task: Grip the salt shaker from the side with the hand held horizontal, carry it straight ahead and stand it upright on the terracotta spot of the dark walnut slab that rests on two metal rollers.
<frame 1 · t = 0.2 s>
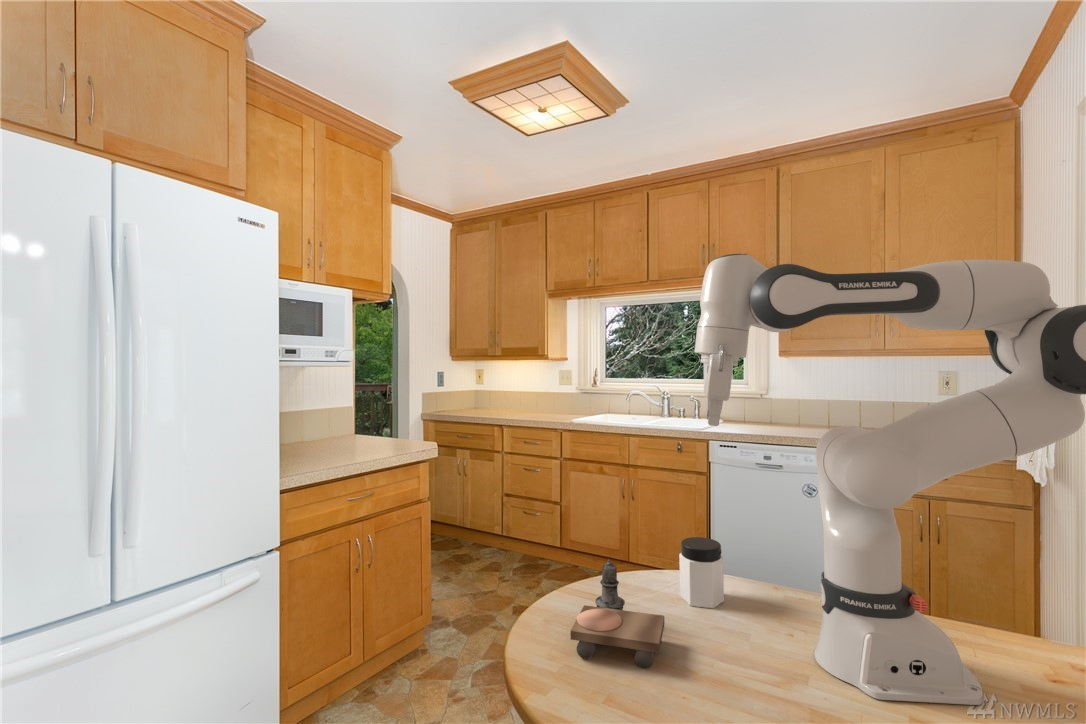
hand: (712, 422, 95), 40 cm above the table, tool pointing down, fingers open, 8 cm apart
jar: (701, 600, 113), on the table
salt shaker: (610, 620, 105), on the table
roller slab: (619, 648, 95), on the table
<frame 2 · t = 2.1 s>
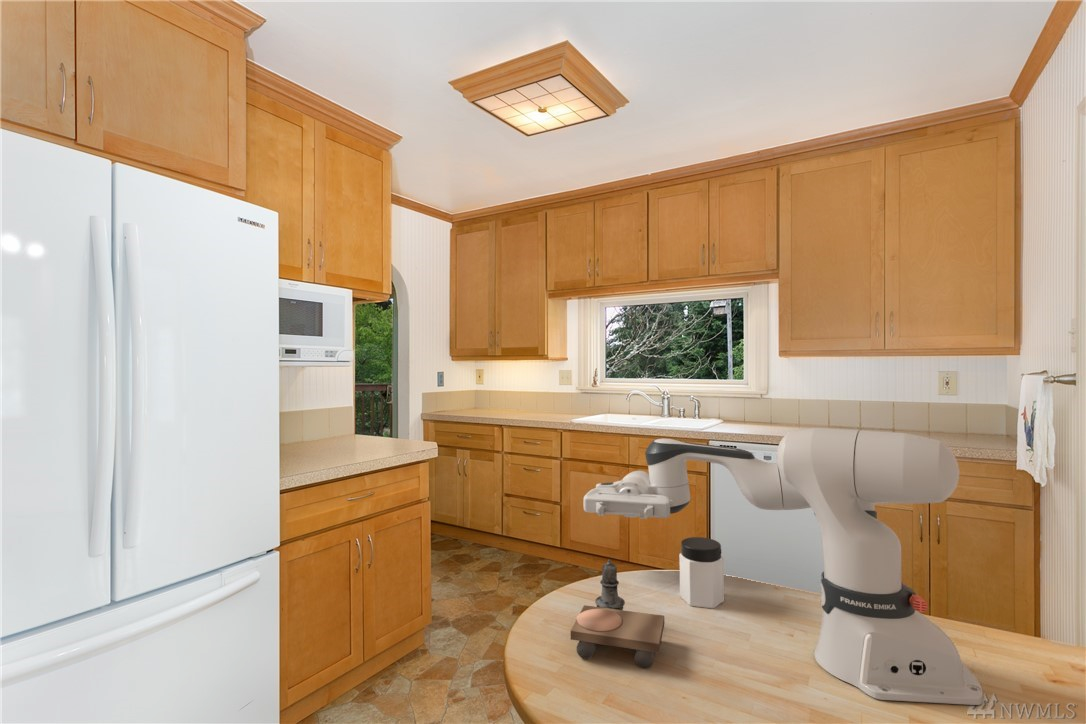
hand: (621, 513, 119), 17 cm above the table, tool horizontal, fingers open, 8 cm apart
nothing on the table moved.
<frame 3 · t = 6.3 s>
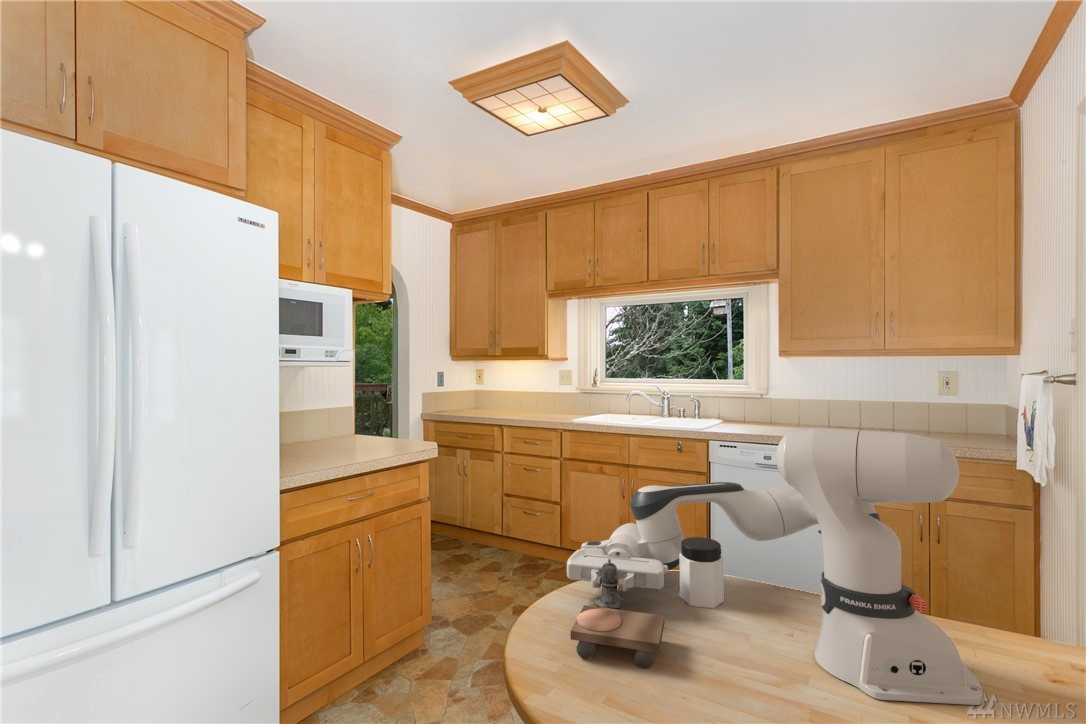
hand: (608, 585, 104), 7 cm above the table, tool horizontal, fingers closed on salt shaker, 4 cm apart
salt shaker: (610, 620, 105), on the table, touching gripper
everything else where it was.
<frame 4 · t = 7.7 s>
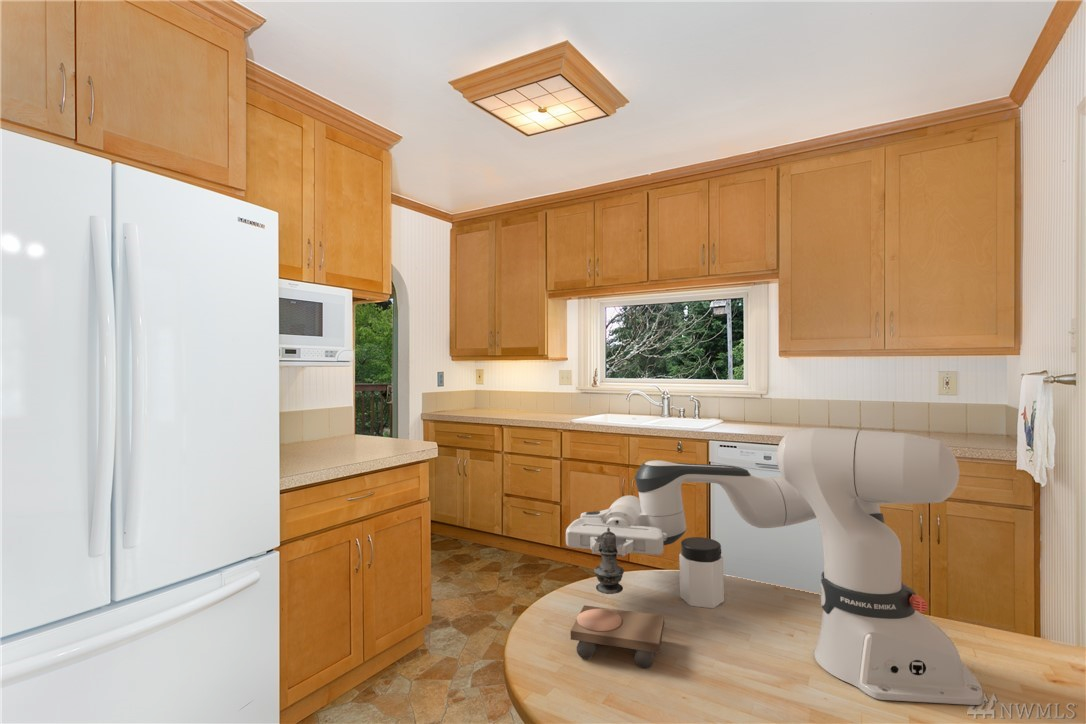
hand: (607, 551, 104), 14 cm above the table, tool horizontal, fingers closed on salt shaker, 4 cm apart
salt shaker: (609, 589, 105), point 6 cm above the table, touching gripper
everything else where it was.
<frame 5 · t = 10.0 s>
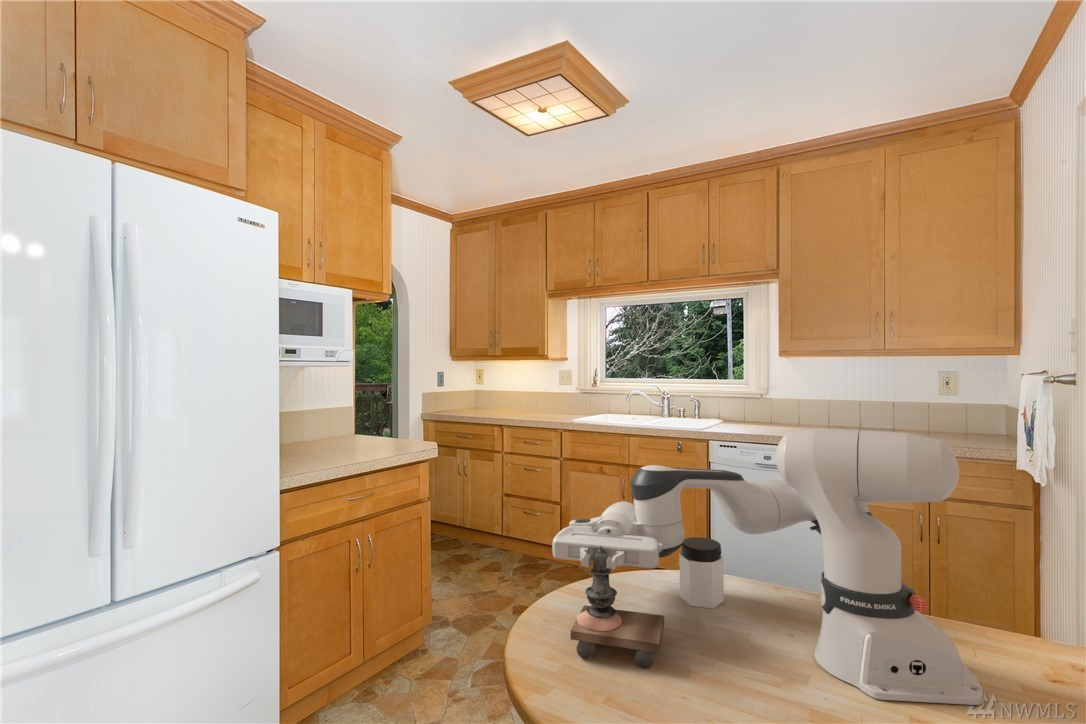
hand: (597, 563, 95), 15 cm above the table, tool horizontal, fingers open, 3 cm apart
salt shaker: (601, 612, 99), point 5 cm above the table, touching roller slab
everything else where it was.
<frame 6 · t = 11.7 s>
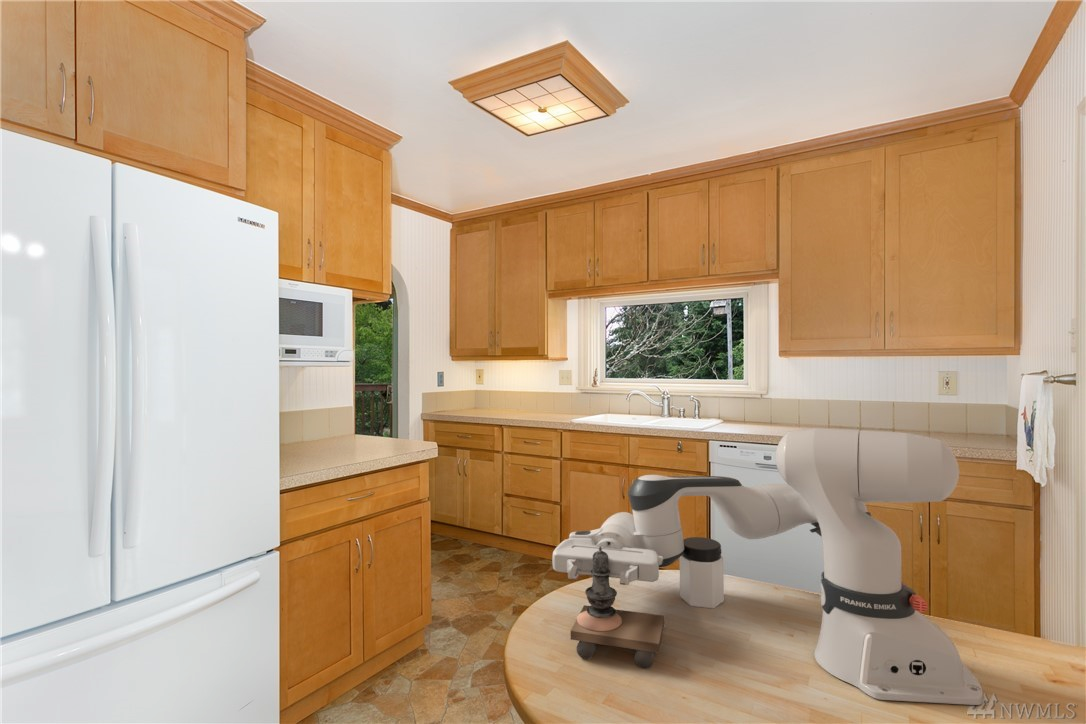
hand: (597, 577, 95), 13 cm above the table, tool horizontal, fingers open, 8 cm apart
jar: (701, 600, 113), on the table, touching arm
everything else where it was.
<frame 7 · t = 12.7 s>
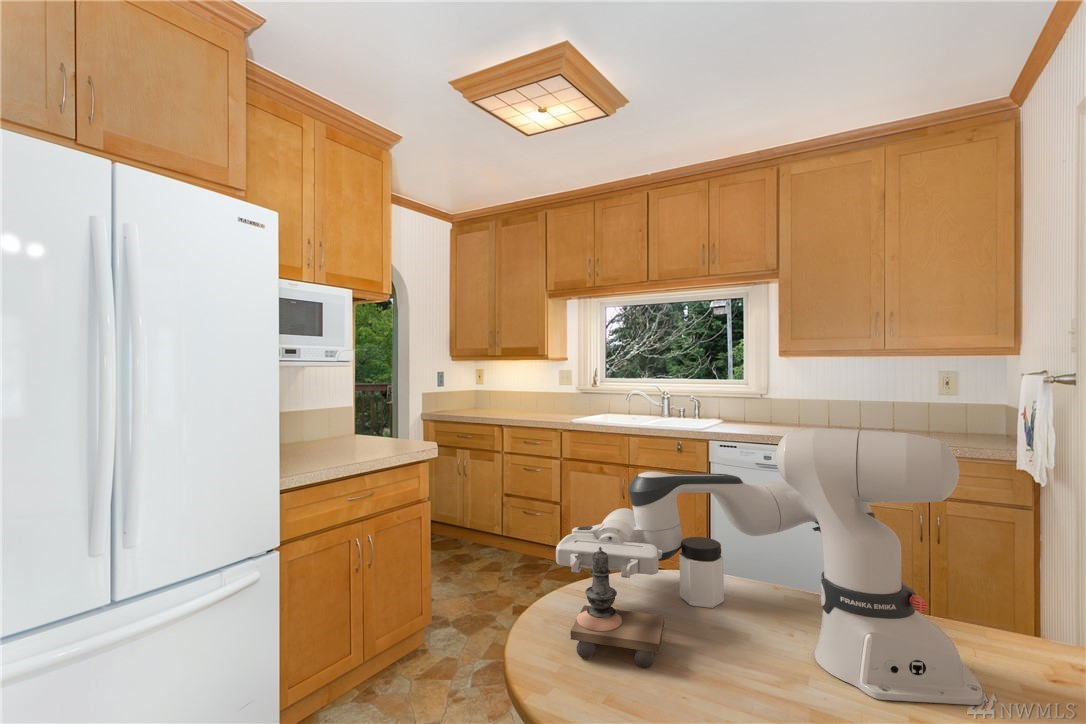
hand: (599, 570, 99), 12 cm above the table, tool horizontal, fingers open, 8 cm apart
jar: (701, 600, 113), on the table
everything else where it was.
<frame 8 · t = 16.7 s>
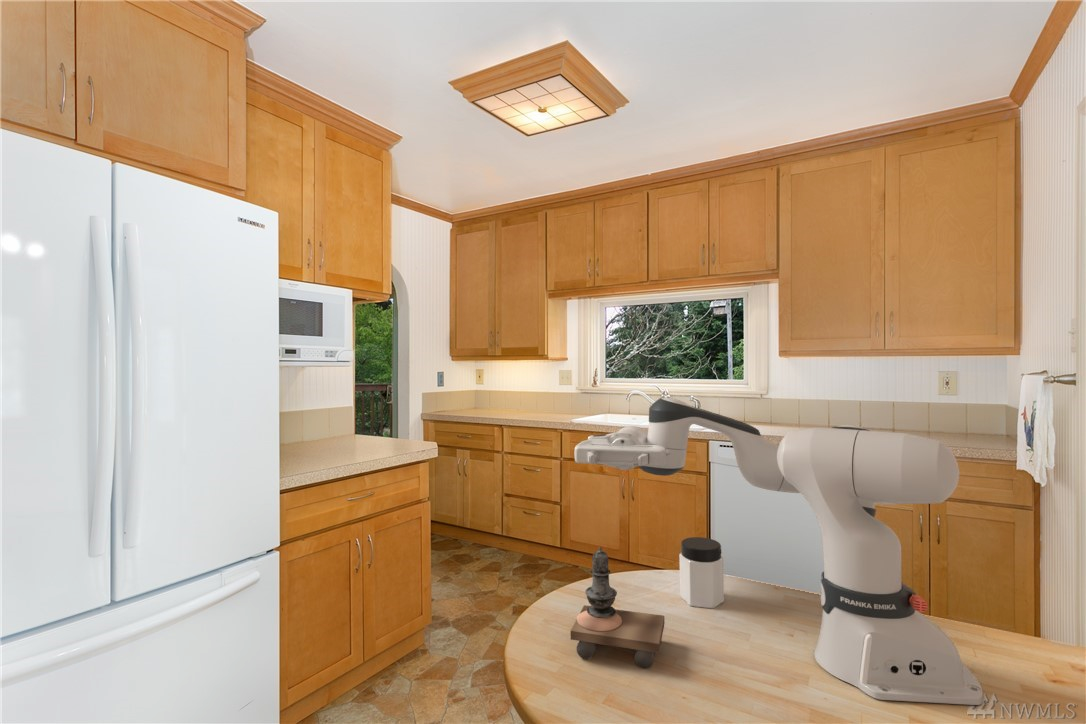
hand: (614, 461, 112), 30 cm above the table, tool horizontal, fingers open, 8 cm apart
nothing on the table moved.
at the end: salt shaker inside the target area on the roller slab (3.1 cm from its centre), point 4.5 cm above the roller slab's base; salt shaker tilted 0°; the gripper is holding nothing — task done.
